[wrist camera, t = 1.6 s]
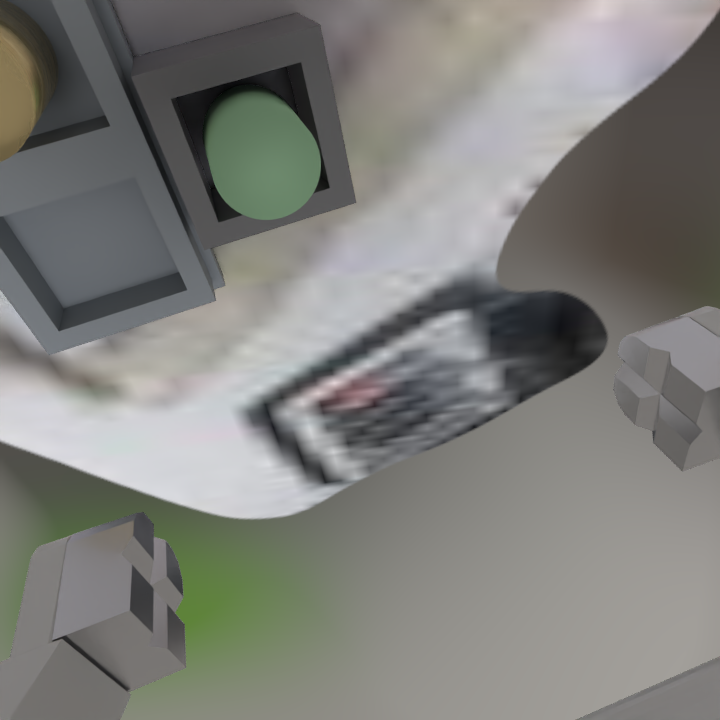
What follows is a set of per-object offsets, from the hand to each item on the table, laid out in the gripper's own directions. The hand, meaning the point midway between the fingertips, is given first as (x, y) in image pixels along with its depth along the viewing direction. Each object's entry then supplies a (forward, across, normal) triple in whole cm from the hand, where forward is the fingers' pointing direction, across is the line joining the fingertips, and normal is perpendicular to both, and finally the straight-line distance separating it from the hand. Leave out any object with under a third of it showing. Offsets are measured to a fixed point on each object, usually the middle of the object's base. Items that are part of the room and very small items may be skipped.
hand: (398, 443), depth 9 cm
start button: (+18, 0, 0) cm, 18 cm away
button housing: (+21, 0, 0) cm, 21 cm away
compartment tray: (+21, +8, -1) cm, 22 cm away
